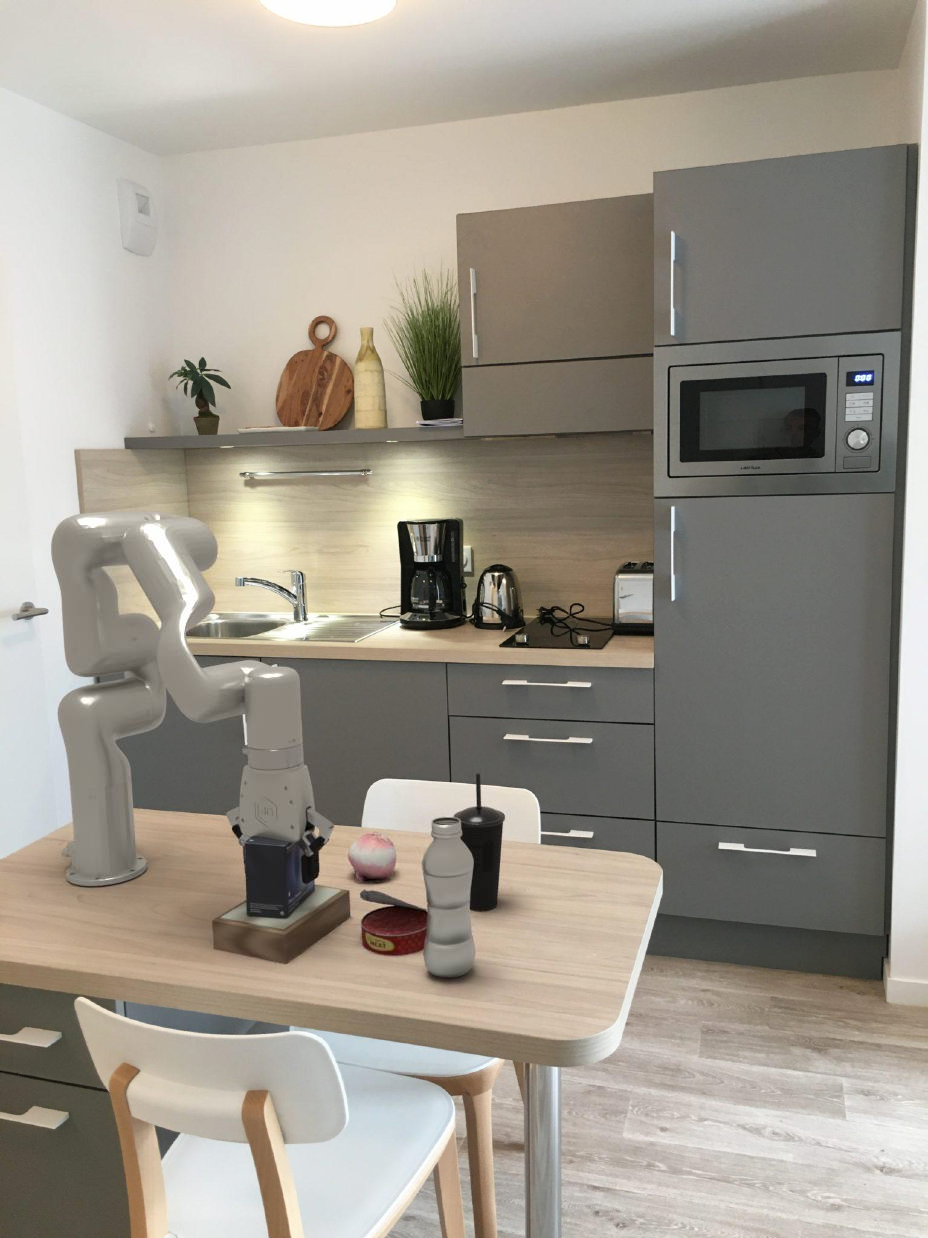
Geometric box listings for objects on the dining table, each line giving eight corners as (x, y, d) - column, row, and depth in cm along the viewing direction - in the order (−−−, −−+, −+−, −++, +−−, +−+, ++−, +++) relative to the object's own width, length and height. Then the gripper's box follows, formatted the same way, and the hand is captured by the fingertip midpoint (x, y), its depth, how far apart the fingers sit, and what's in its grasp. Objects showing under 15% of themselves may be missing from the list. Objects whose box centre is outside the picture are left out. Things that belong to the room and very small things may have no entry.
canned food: (362, 970, 140) (343, 899, 143) (428, 948, 144) (408, 879, 146) (380, 965, 130) (359, 889, 133) (451, 942, 134) (429, 868, 136)
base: (213, 948, 137) (212, 918, 137) (282, 904, 151) (281, 877, 151) (286, 963, 132) (285, 932, 132) (350, 916, 146) (349, 888, 146)
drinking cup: (514, 899, 151) (512, 769, 149) (494, 918, 144) (491, 783, 142) (468, 891, 155) (465, 765, 152) (447, 910, 148) (443, 778, 145)
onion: (403, 878, 163) (409, 842, 161) (369, 897, 158) (375, 860, 155) (368, 853, 168) (374, 817, 165) (334, 871, 162) (339, 834, 159)
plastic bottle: (422, 962, 131) (418, 814, 129) (474, 959, 132) (470, 812, 130) (424, 986, 125) (419, 831, 123) (478, 982, 126) (475, 828, 123)
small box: (289, 920, 136) (285, 845, 134) (244, 916, 137) (240, 842, 136) (318, 890, 146) (314, 820, 144) (276, 887, 147) (272, 818, 146)
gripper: (208, 757, 139) (215, 876, 141) (313, 769, 132) (318, 894, 134) (241, 745, 146) (247, 858, 148) (343, 755, 138) (348, 874, 140)
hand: (281, 875), depth 141 cm, fingers open, 9 cm apart
